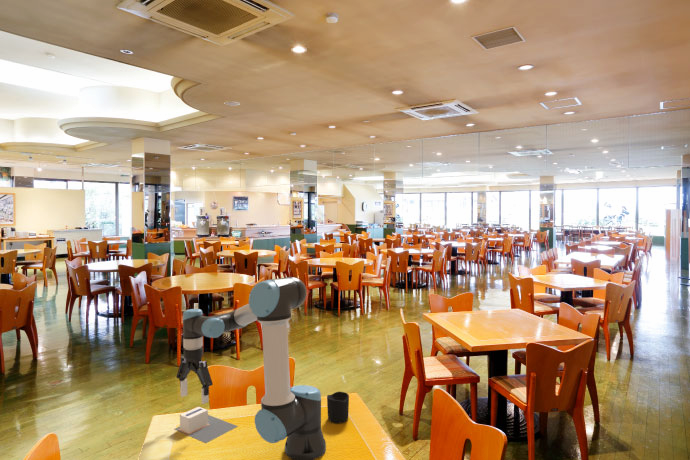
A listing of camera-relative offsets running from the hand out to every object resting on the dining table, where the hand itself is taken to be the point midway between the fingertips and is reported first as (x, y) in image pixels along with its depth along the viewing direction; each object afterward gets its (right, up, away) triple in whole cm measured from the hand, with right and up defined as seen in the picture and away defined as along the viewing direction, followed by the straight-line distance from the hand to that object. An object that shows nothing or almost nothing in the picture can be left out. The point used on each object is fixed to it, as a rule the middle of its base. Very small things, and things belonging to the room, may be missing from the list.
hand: (194, 399), depth 172 cm
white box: (0, -12, 0) cm, 11 cm away
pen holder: (+59, -12, +8) cm, 61 cm away
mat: (+5, -12, 0) cm, 13 cm away
